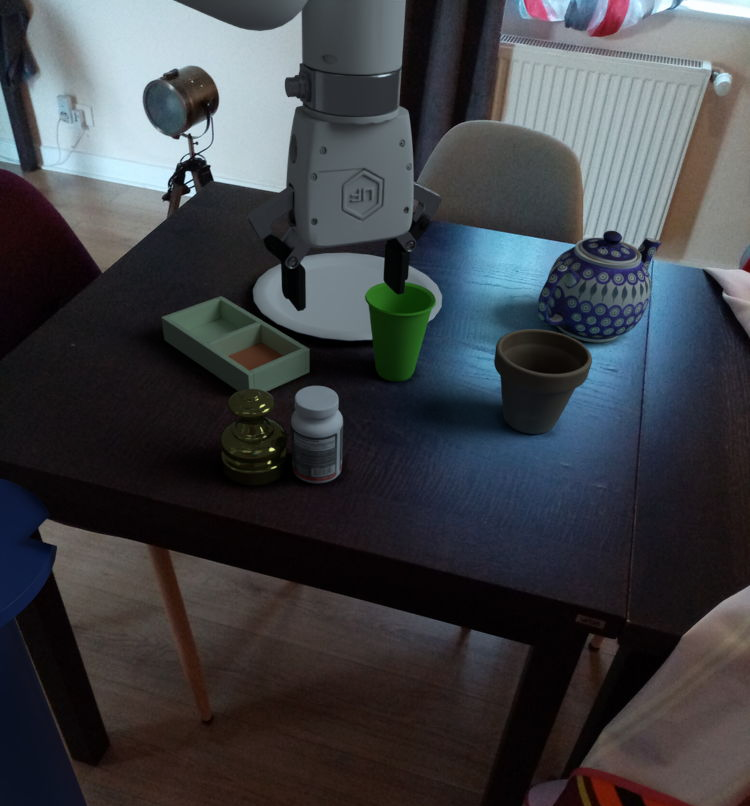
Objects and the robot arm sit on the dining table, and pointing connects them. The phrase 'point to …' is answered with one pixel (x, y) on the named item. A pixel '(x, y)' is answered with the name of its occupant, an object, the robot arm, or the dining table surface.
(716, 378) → the dining table surface
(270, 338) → the tray
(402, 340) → the cup
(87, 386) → the dining table surface
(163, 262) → the dining table surface
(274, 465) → the brass tiered cylinder
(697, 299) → the dining table surface
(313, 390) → the pill bottle
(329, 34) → the robot arm
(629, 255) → the teapot
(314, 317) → the plate
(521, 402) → the flower pot
